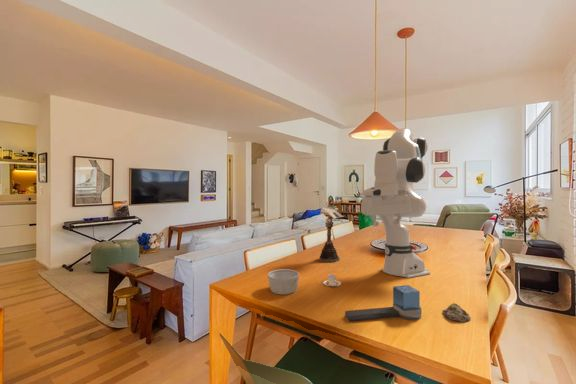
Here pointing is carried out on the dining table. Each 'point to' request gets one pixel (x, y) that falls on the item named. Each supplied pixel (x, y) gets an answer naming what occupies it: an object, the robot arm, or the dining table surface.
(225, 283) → the dining table surface
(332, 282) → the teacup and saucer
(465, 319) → the mineral rock
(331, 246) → the bird statue
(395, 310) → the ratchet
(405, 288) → the slate grey cube
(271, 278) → the ramekin
